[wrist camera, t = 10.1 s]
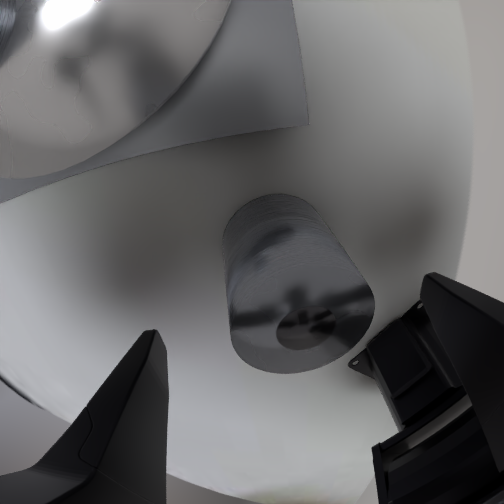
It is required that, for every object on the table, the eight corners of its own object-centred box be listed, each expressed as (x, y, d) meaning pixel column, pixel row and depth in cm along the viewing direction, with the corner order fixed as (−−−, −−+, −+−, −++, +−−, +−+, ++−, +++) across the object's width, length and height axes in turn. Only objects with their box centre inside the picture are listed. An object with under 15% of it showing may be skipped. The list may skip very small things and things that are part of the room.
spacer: (344, 226, 13) (400, 300, 9) (285, 298, 15) (313, 384, 10) (260, 174, 11) (293, 239, 7) (203, 261, 13) (203, 354, 9)
